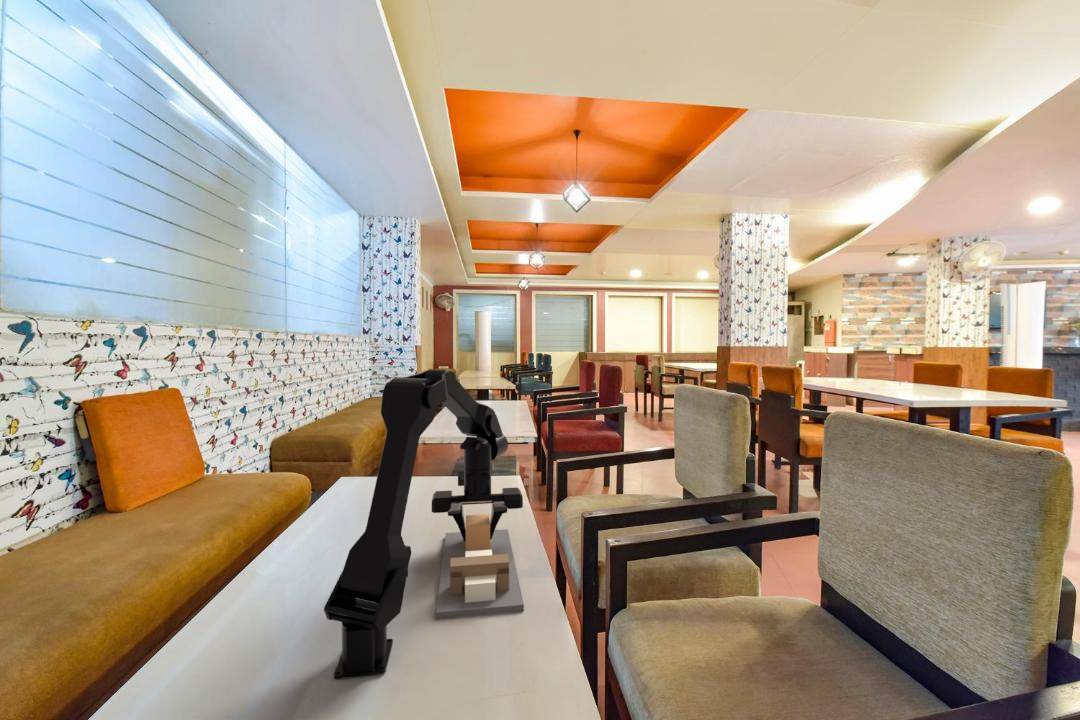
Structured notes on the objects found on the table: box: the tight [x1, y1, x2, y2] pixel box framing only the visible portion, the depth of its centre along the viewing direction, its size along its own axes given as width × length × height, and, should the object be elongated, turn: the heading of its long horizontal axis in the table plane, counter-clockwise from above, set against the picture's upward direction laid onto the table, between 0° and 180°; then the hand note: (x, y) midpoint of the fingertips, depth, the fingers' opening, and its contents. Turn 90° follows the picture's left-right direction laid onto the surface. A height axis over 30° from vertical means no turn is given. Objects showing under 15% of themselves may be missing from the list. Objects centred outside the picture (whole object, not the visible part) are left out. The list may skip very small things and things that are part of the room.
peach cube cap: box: [465, 513, 491, 551], centre depth 94 cm, size 6×5×5 cm
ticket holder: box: [435, 528, 525, 620], centre depth 86 cm, size 30×14×6 cm, turn 9°
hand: (477, 539), depth 94 cm, fingers closed on peach cube cap, 5 cm apart
